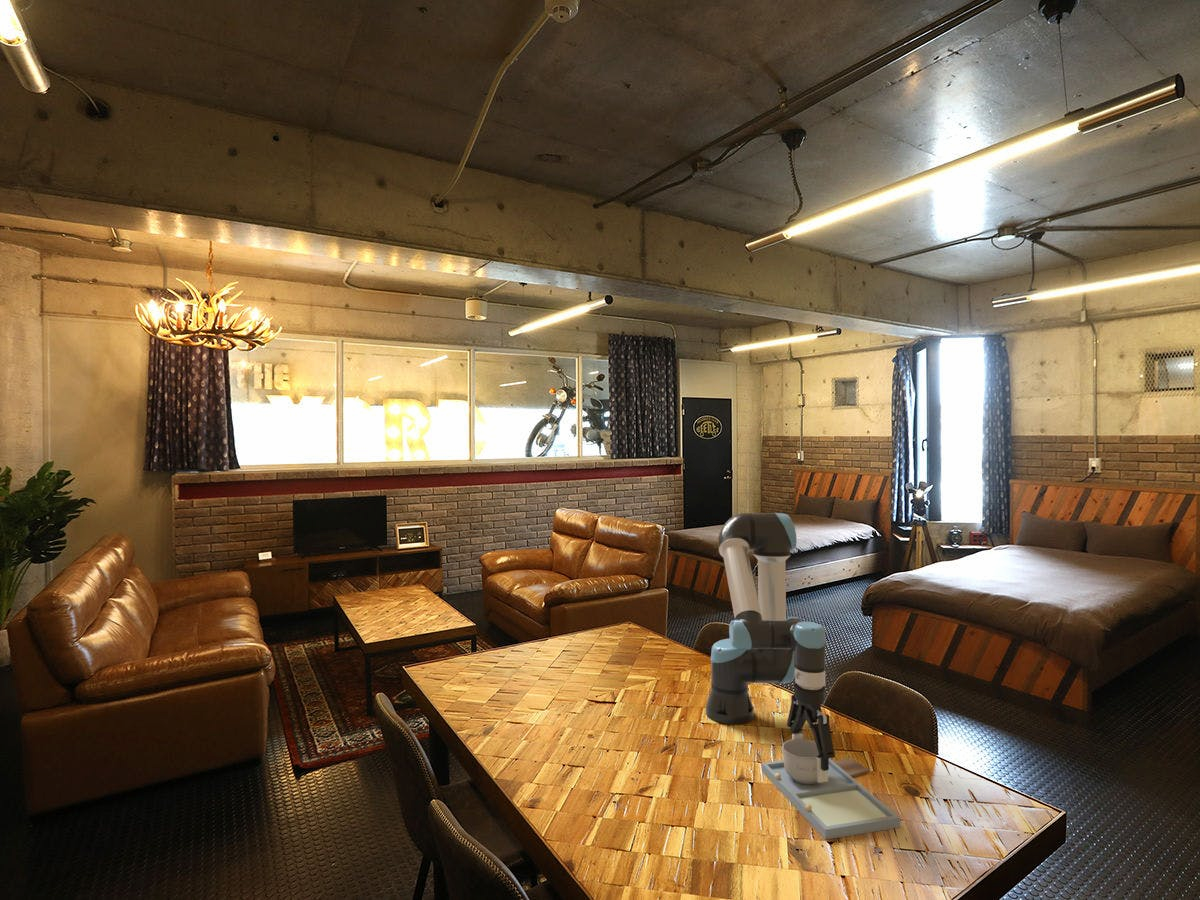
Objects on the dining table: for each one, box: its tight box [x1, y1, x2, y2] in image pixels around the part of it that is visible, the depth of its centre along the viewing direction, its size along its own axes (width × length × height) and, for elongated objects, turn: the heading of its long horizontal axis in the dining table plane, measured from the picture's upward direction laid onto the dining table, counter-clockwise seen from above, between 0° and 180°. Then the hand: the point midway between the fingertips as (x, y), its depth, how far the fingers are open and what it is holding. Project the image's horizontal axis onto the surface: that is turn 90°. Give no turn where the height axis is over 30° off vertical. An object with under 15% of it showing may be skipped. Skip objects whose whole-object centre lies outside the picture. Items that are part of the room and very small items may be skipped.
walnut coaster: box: [832, 756, 870, 778], centre depth 165 cm, size 7×7×1 cm
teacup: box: [781, 738, 823, 784], centre depth 158 cm, size 14×11×8 cm
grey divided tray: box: [761, 758, 901, 840], centre depth 151 cm, size 29×19×3 cm, turn 13°
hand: (809, 769), depth 158 cm, fingers closed on teacup, 11 cm apart
